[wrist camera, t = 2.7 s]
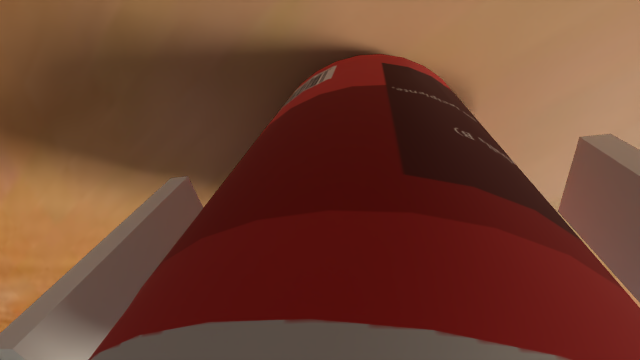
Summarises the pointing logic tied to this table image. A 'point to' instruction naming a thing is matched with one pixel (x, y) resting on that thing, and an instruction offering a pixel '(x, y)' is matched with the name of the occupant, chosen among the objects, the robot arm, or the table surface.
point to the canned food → (377, 243)
